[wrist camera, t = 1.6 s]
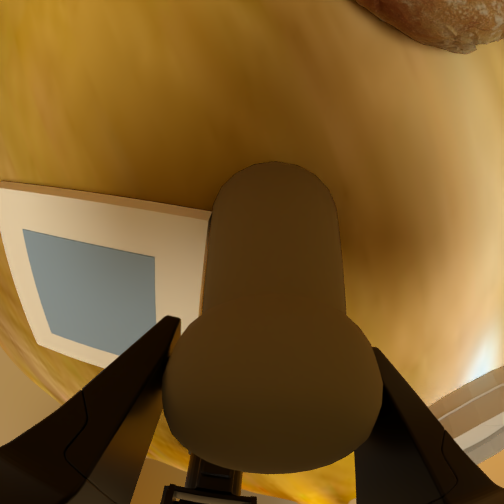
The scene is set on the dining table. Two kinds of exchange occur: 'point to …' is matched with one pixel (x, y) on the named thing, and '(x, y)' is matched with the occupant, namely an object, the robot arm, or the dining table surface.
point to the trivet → (101, 266)
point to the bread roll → (443, 21)
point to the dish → (475, 415)
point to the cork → (273, 335)
